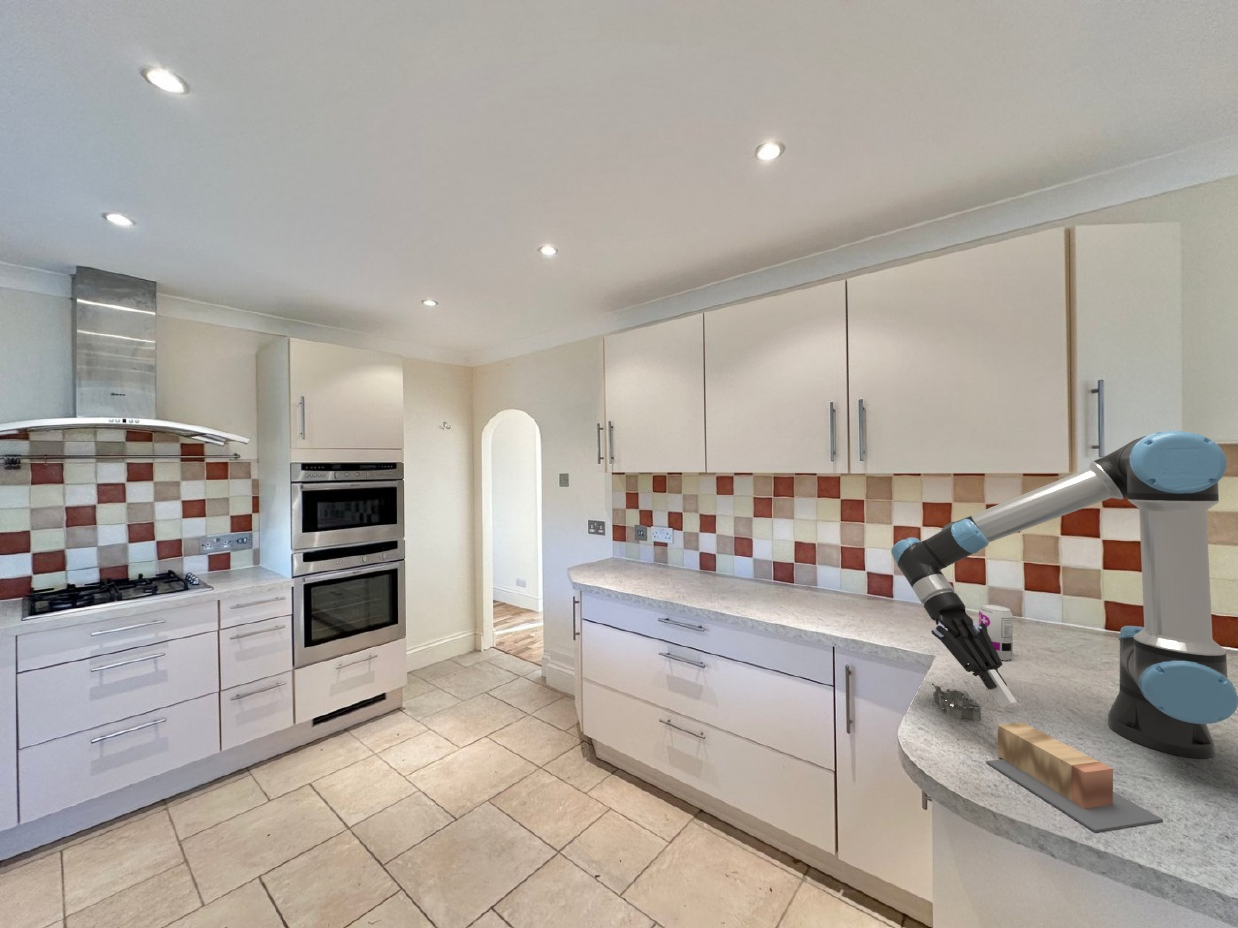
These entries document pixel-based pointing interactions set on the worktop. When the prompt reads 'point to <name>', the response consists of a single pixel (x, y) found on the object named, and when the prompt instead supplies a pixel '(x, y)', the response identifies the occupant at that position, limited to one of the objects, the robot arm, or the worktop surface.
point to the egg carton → (958, 703)
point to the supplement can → (998, 628)
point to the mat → (1091, 818)
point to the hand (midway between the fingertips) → (1009, 704)
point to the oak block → (1056, 765)
